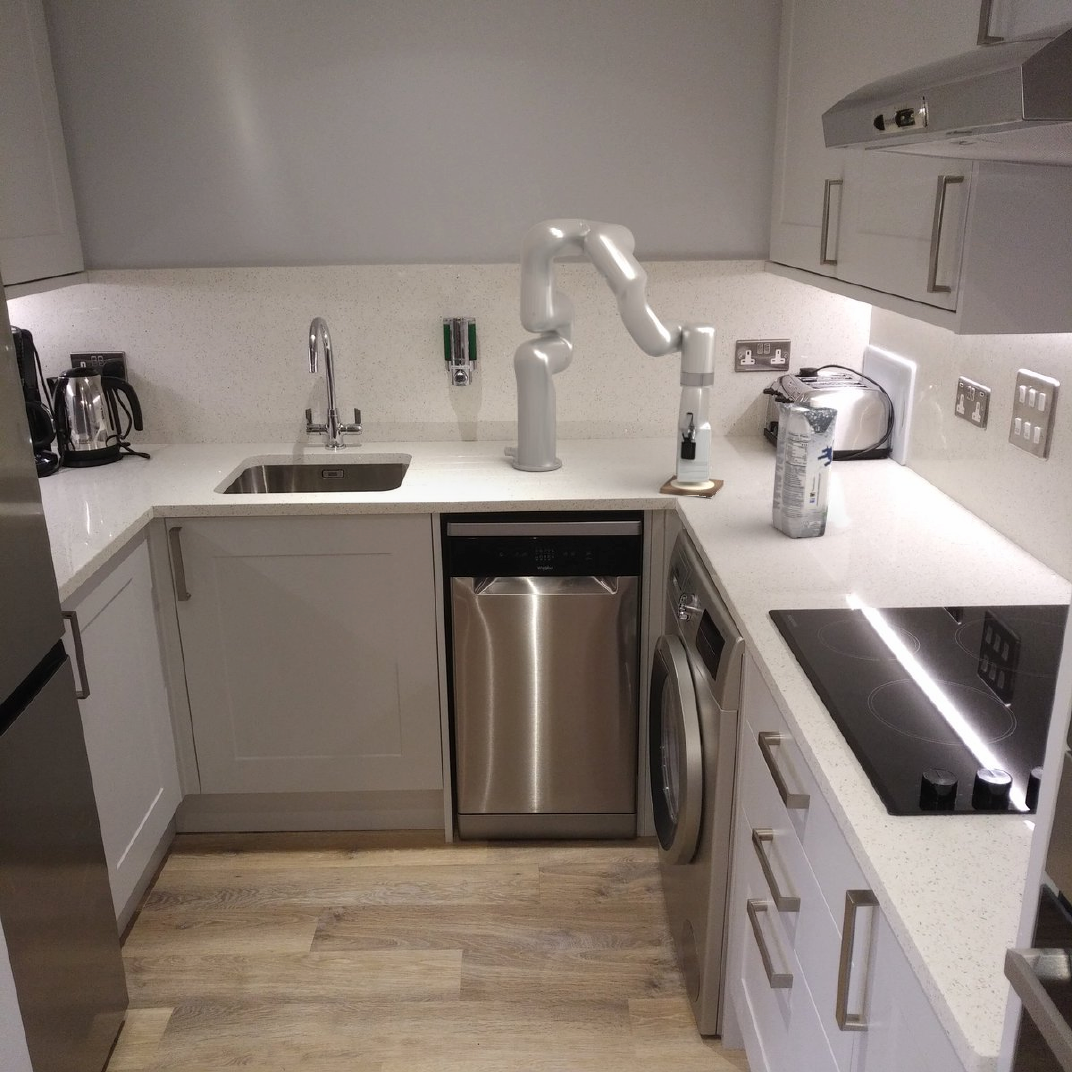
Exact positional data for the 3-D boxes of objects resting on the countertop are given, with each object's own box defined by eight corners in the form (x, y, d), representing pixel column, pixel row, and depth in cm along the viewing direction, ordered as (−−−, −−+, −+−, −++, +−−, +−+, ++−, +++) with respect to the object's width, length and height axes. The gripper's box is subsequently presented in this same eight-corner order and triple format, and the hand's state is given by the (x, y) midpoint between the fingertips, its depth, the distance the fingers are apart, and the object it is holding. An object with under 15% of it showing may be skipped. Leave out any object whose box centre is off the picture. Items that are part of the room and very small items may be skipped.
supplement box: (706, 474, 237) (710, 421, 233) (708, 483, 230) (712, 428, 226) (675, 473, 238) (677, 420, 234) (675, 482, 231) (678, 427, 227)
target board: (659, 493, 232) (660, 487, 231) (673, 480, 242) (673, 474, 242) (711, 498, 227) (712, 492, 227) (723, 485, 238) (723, 479, 238)
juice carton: (791, 541, 199) (802, 405, 191) (765, 525, 209) (775, 395, 200) (831, 537, 202) (844, 402, 193) (804, 521, 211) (815, 393, 203)
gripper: (690, 372, 236) (686, 444, 241) (670, 384, 221) (666, 461, 226) (722, 374, 233) (717, 447, 239) (704, 386, 218) (699, 465, 223)
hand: (692, 454), depth 232 cm, fingers closed on supplement box, 8 cm apart
